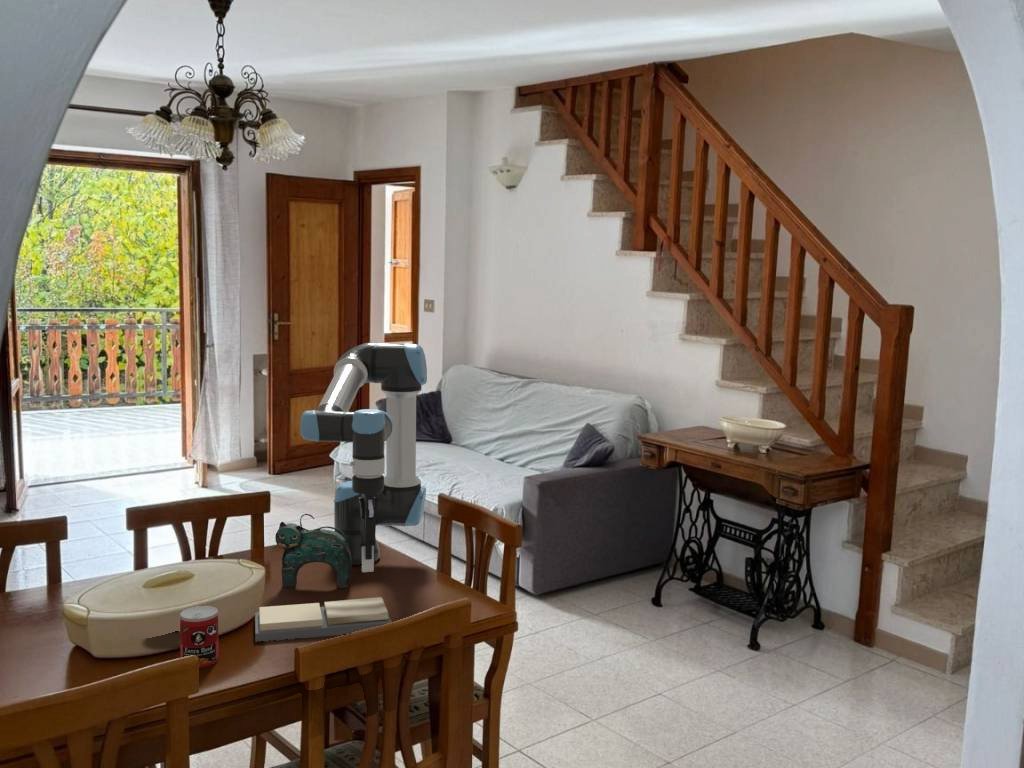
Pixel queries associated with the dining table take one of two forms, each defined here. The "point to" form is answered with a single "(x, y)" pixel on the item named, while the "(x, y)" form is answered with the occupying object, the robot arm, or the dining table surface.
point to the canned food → (199, 634)
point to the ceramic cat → (313, 552)
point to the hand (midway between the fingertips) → (367, 570)
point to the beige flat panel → (355, 610)
